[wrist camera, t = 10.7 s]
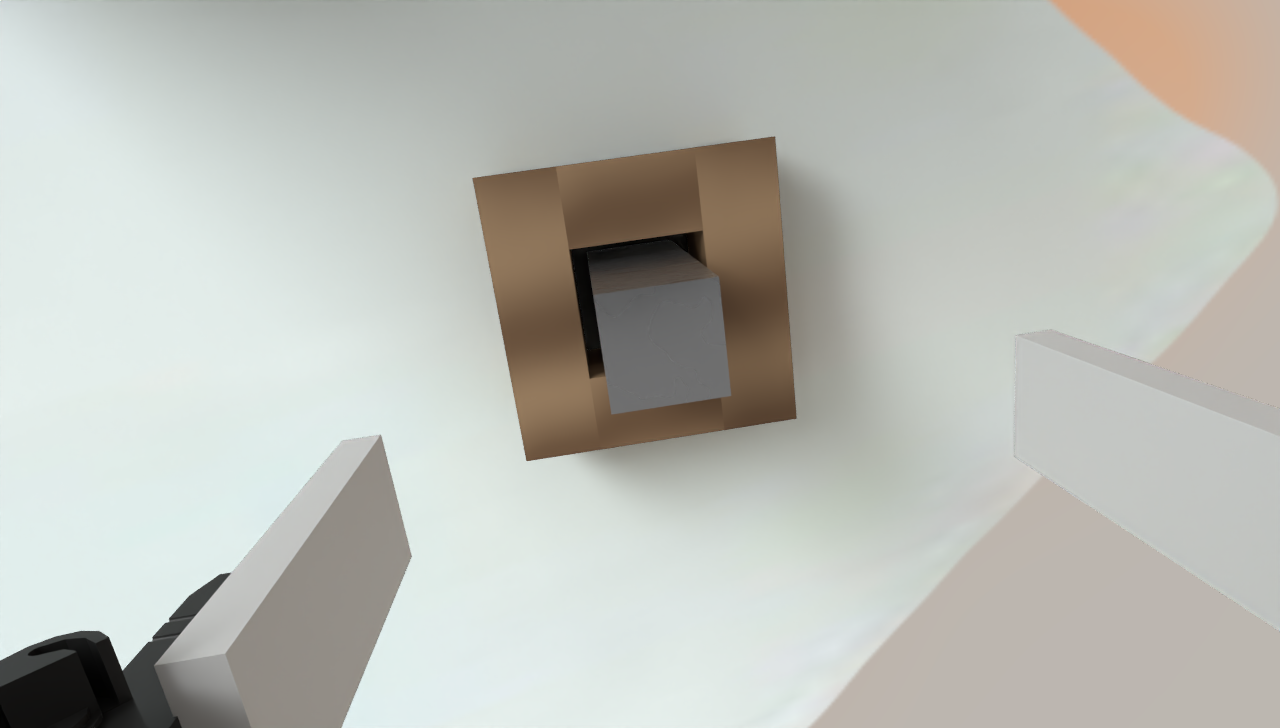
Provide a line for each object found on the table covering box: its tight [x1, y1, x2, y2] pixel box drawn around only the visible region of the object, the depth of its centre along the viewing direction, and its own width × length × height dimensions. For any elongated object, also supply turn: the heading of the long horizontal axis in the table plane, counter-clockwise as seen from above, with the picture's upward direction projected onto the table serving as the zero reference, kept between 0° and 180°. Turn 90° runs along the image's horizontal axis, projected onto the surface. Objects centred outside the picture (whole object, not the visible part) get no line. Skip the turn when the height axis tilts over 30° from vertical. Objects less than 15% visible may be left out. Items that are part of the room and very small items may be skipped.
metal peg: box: [587, 240, 731, 414], centre depth 29 cm, size 4×4×12 cm
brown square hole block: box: [473, 137, 797, 461], centre depth 32 cm, size 12×12×5 cm
